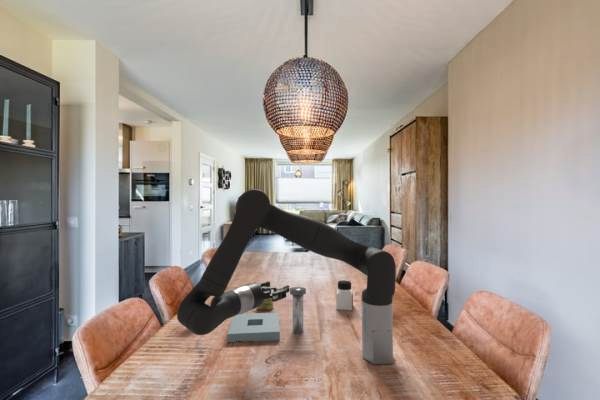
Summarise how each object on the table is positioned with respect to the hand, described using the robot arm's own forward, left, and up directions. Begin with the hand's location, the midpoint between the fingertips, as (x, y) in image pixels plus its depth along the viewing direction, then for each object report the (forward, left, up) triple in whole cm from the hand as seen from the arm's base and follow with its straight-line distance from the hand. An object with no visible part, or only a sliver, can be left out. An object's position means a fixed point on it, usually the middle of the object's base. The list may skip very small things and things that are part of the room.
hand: (278, 286), depth 102 cm
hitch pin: (+8, -7, -19) cm, 22 cm away
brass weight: (+33, +6, -19) cm, 39 cm away
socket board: (+10, +9, -19) cm, 24 cm away
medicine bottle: (+30, -30, -19) cm, 47 cm away
